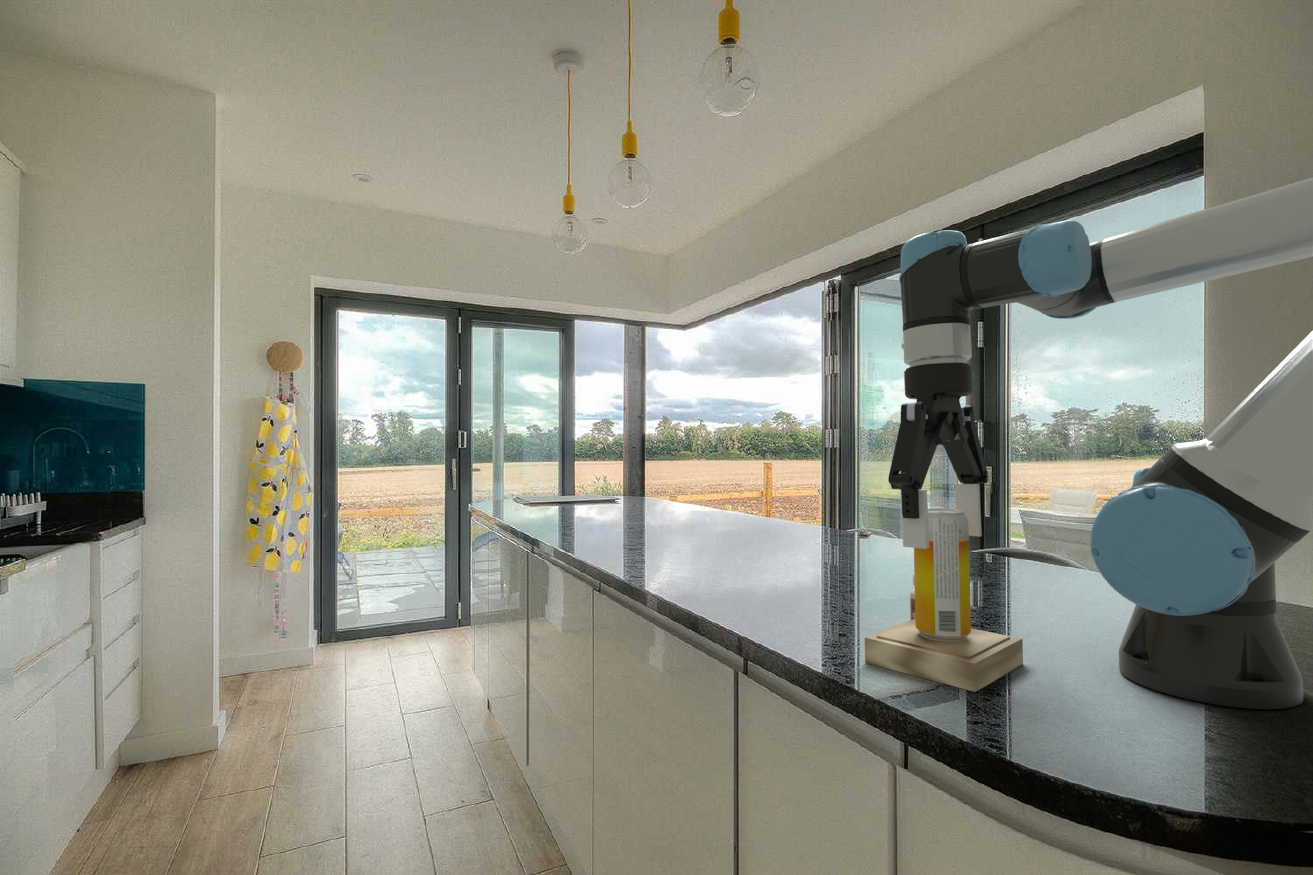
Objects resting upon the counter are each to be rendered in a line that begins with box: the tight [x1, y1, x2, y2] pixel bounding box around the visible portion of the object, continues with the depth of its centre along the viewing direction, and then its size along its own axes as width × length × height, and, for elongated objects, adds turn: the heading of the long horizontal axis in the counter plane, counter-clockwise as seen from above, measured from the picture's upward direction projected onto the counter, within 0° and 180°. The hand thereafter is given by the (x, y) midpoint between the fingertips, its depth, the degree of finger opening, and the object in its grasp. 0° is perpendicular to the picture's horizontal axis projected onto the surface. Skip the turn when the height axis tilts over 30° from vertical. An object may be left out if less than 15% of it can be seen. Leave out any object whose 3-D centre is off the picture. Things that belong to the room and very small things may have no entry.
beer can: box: [913, 508, 972, 642], centre depth 78 cm, size 6×6×15 cm
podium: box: [864, 619, 1024, 693], centre depth 78 cm, size 13×13×3 cm
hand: (944, 541), depth 77 cm, fingers open, 13 cm apart
